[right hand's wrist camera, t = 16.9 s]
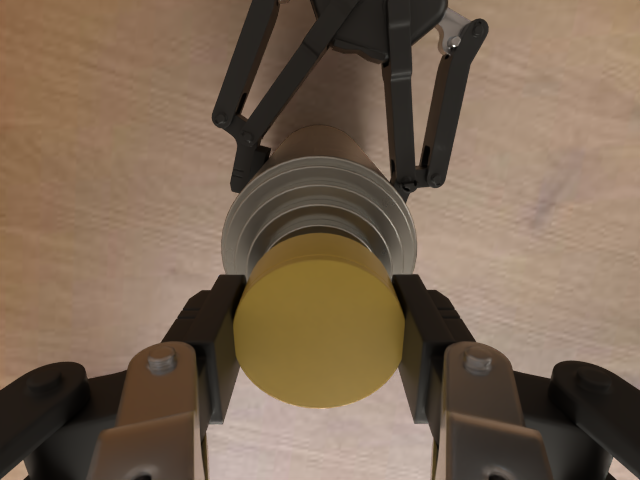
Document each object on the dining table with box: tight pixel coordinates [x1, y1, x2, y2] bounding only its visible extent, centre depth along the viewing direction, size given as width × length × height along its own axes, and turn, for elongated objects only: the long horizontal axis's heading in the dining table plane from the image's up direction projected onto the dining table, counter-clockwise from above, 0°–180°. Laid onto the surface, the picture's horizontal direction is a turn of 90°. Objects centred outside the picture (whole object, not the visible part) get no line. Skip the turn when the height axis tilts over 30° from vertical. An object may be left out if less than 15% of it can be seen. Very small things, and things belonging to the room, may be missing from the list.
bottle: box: [221, 125, 417, 281], centre depth 21 cm, size 8×8×23 cm
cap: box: [233, 233, 405, 409], centre depth 11 cm, size 4×4×2 cm
